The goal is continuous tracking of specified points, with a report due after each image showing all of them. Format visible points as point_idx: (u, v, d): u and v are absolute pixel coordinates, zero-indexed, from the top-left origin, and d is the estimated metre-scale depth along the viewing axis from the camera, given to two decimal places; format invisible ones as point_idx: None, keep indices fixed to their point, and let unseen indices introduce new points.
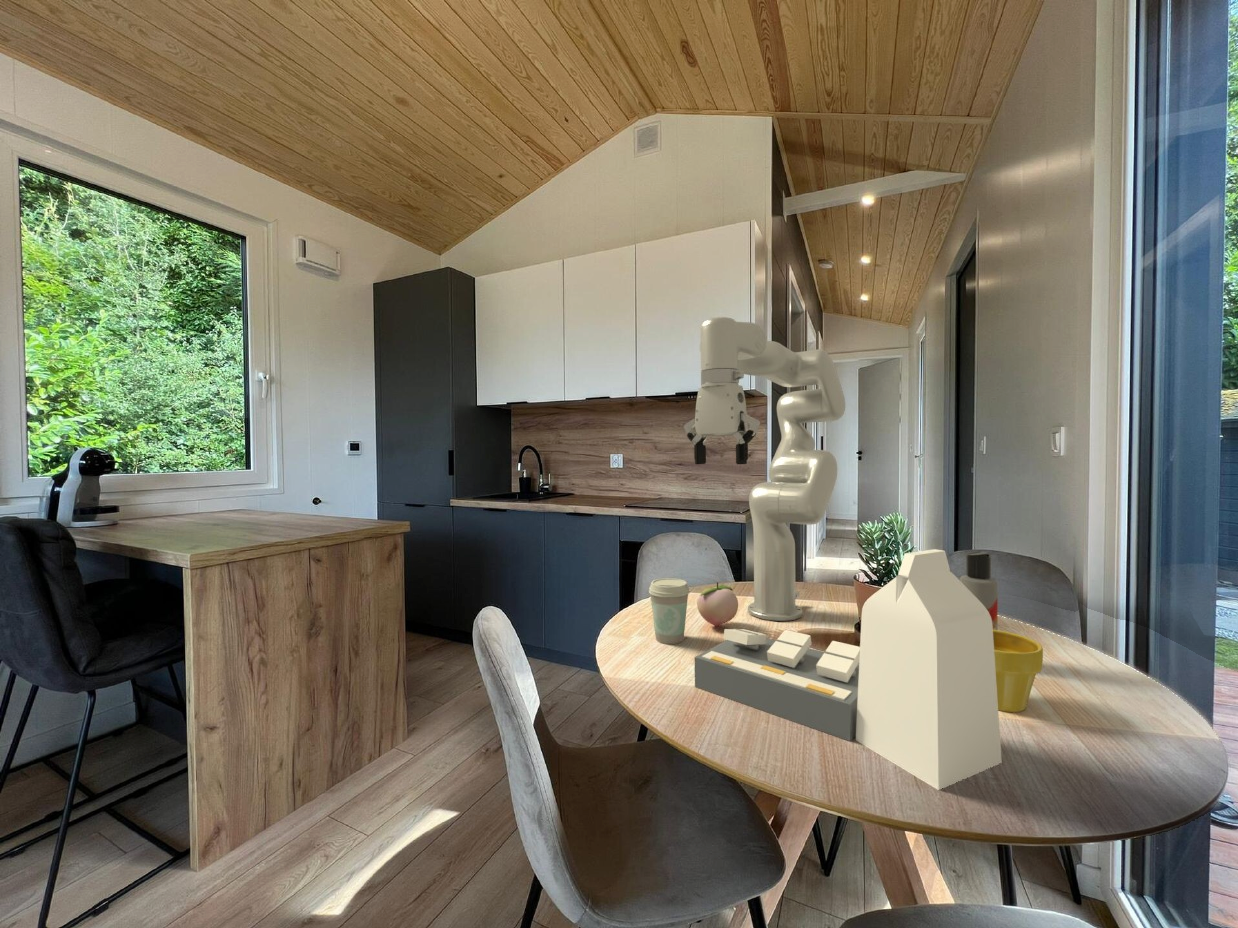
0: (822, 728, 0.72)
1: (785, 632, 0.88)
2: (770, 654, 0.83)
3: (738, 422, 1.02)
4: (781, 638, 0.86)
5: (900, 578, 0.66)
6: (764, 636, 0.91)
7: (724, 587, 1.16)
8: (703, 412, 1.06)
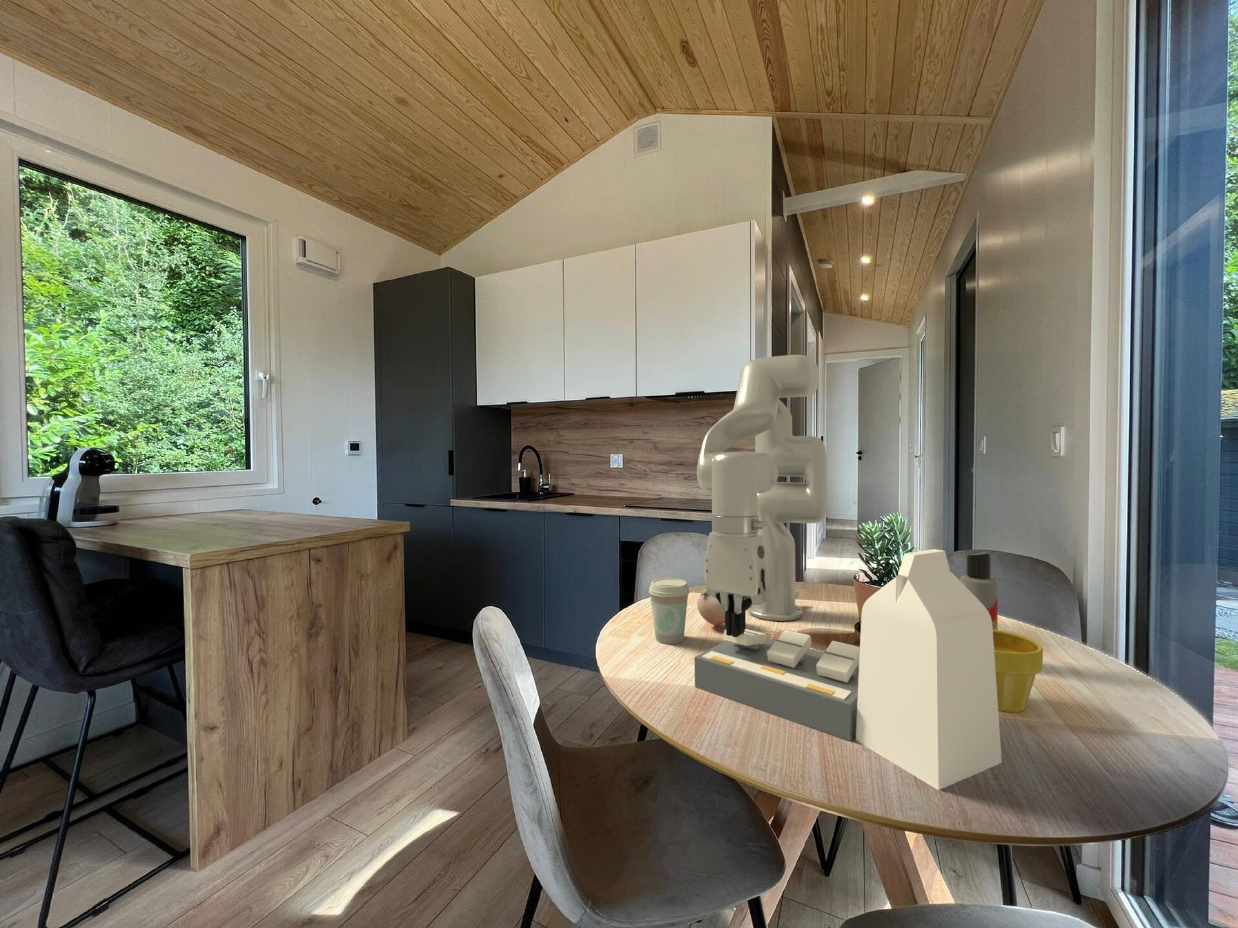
0: (822, 728, 0.72)
1: (785, 632, 0.88)
2: (770, 654, 0.83)
3: (758, 584, 0.83)
4: (781, 638, 0.86)
5: (900, 578, 0.66)
6: (764, 635, 0.91)
7: None
8: (715, 564, 0.87)
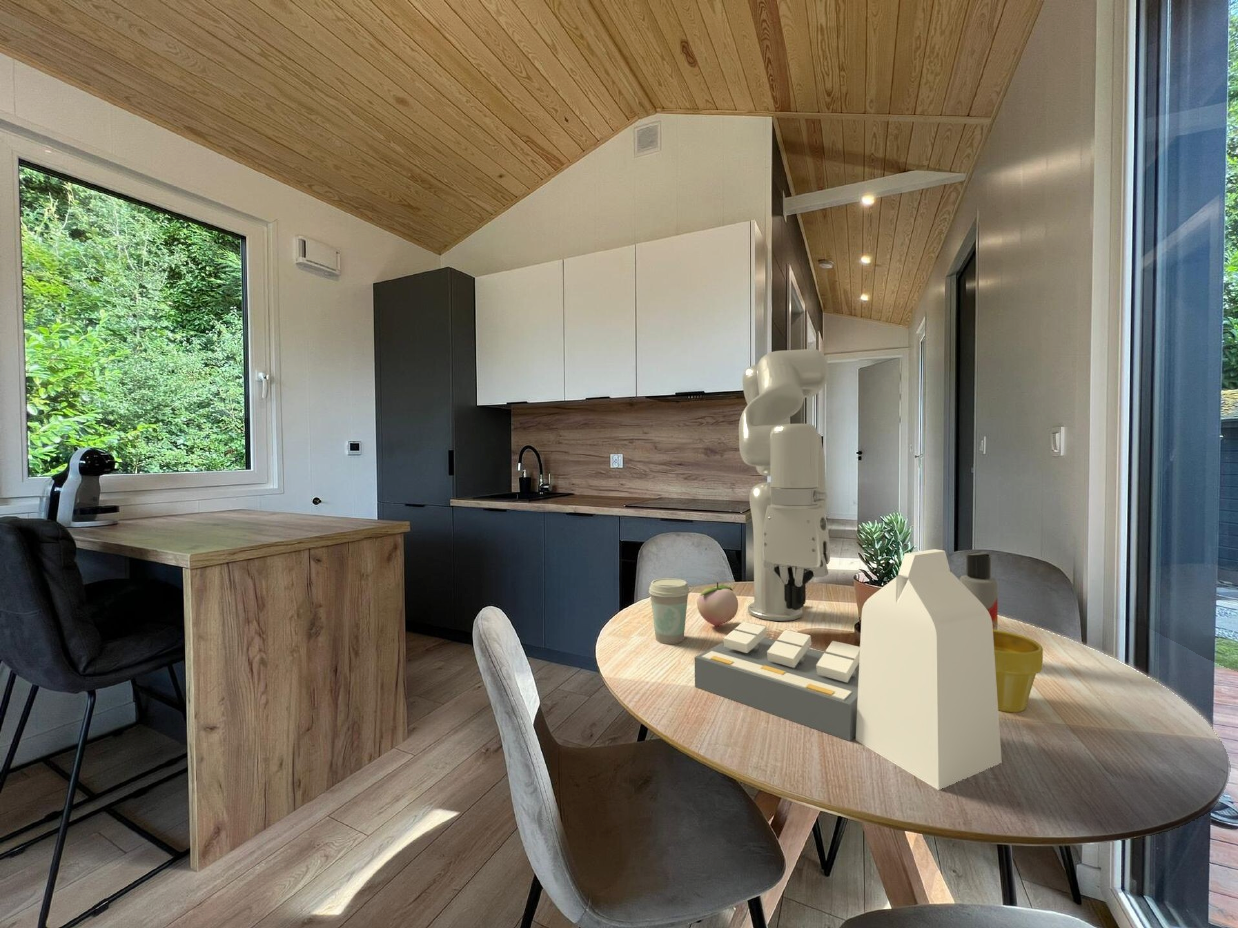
0: (822, 728, 0.72)
1: (785, 632, 0.88)
2: (770, 654, 0.83)
3: (821, 556, 0.82)
4: (781, 638, 0.86)
5: (900, 578, 0.66)
6: (764, 630, 0.91)
7: (724, 587, 1.16)
8: (774, 537, 0.86)
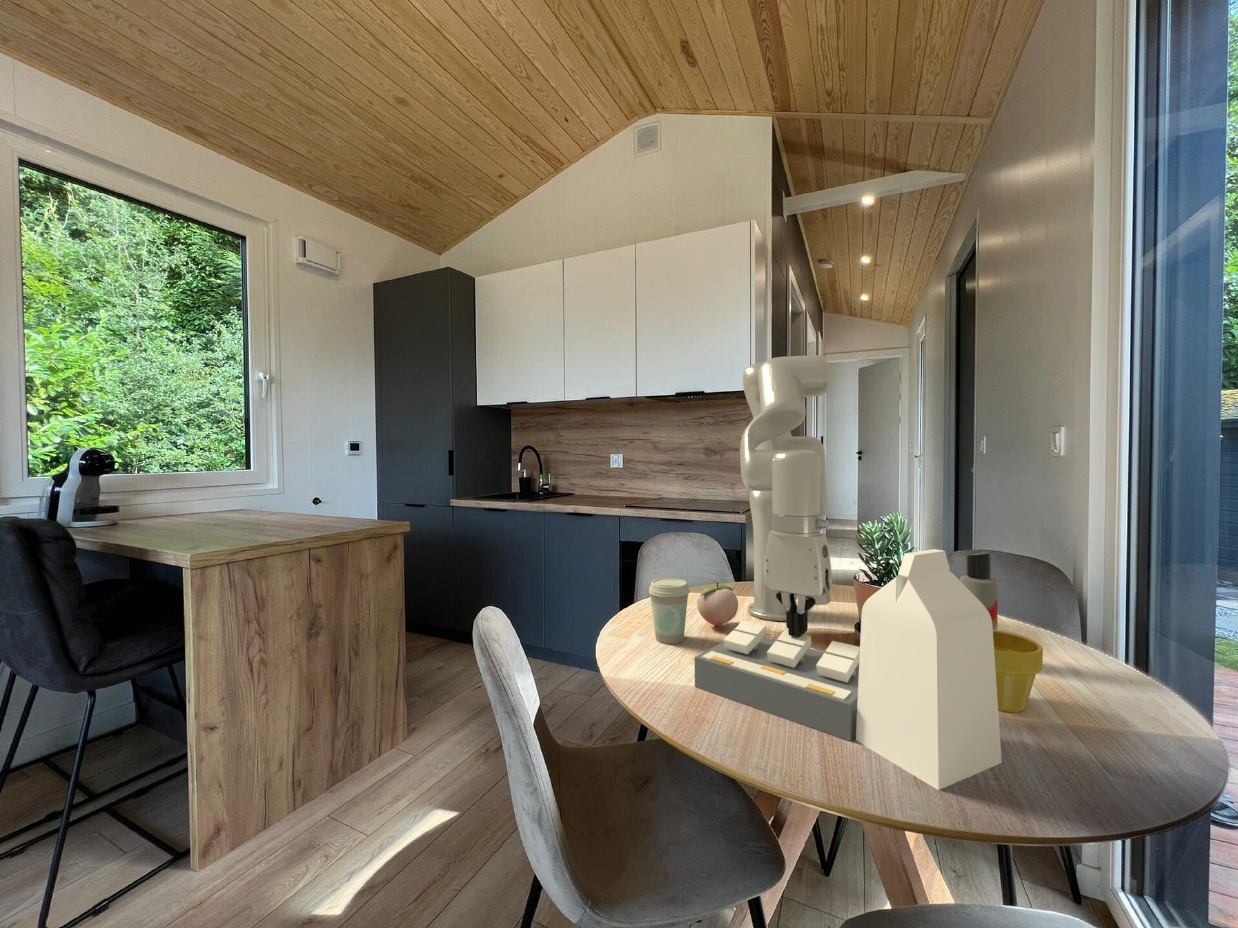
0: (822, 728, 0.72)
1: (785, 632, 0.88)
2: (770, 654, 0.83)
3: (823, 584, 0.82)
4: (781, 638, 0.86)
5: (900, 578, 0.66)
6: (763, 629, 0.91)
7: (724, 587, 1.16)
8: (776, 564, 0.86)
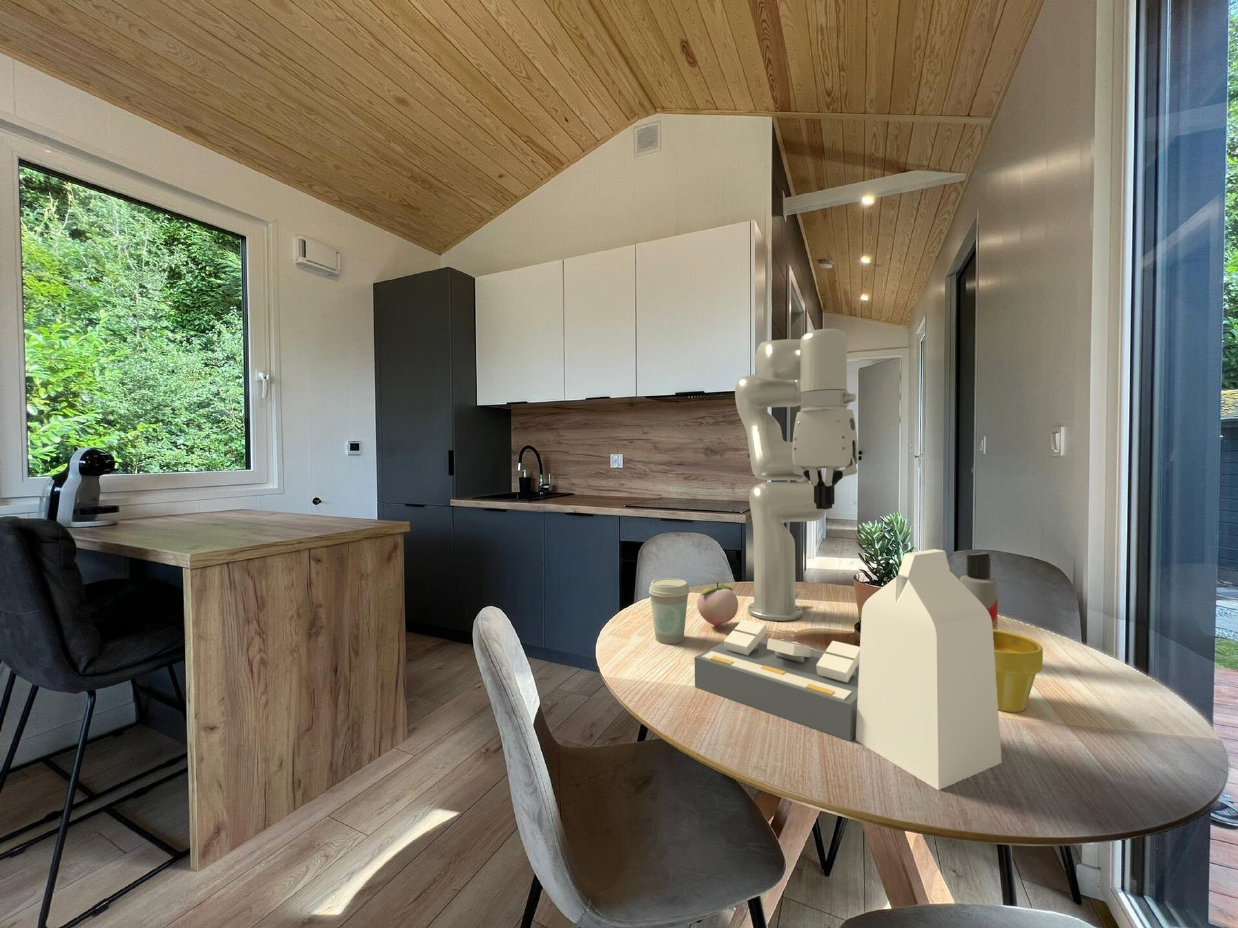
0: (822, 728, 0.72)
1: None
2: (771, 641, 0.83)
3: (851, 453, 0.86)
4: None
5: (900, 578, 0.66)
6: (763, 628, 0.90)
7: (724, 587, 1.16)
8: (804, 440, 0.90)
